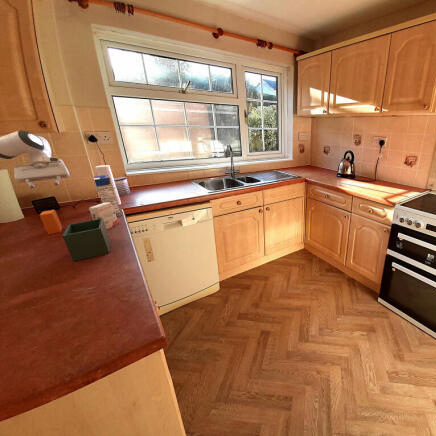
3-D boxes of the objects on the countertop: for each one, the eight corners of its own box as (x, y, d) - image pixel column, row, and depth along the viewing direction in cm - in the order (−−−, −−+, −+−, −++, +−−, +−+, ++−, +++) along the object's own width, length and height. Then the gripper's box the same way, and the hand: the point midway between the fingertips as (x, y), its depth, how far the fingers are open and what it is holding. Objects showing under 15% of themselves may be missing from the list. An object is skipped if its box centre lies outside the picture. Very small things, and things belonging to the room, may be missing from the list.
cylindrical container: (106, 205, 158) (93, 166, 148) (118, 202, 163) (106, 164, 154) (110, 207, 154) (97, 167, 145) (123, 203, 159) (111, 165, 150)
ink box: (111, 223, 128) (104, 201, 124) (119, 223, 127) (112, 202, 123) (96, 230, 121) (87, 207, 116) (104, 230, 120) (96, 207, 115)
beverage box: (107, 218, 135) (94, 179, 126) (106, 213, 143) (93, 176, 134) (121, 215, 139) (109, 177, 130) (119, 210, 147) (108, 174, 138)
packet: (48, 234, 117) (39, 215, 114) (50, 230, 122) (42, 211, 118) (60, 232, 120) (52, 213, 116) (62, 228, 124) (54, 209, 121)
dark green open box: (73, 261, 93) (62, 236, 89) (78, 248, 103) (68, 224, 99) (109, 252, 99) (100, 228, 94) (110, 240, 109) (102, 218, 105)
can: (119, 196, 176) (114, 180, 172) (109, 195, 180) (104, 179, 176) (134, 192, 186) (129, 176, 182) (124, 191, 190) (119, 176, 186)
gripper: (10, 162, 119) (12, 185, 115) (64, 158, 129) (67, 179, 125) (17, 170, 124) (19, 192, 120) (68, 165, 135) (72, 186, 131)
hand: (44, 185), depth 123 cm, fingers open, 8 cm apart
